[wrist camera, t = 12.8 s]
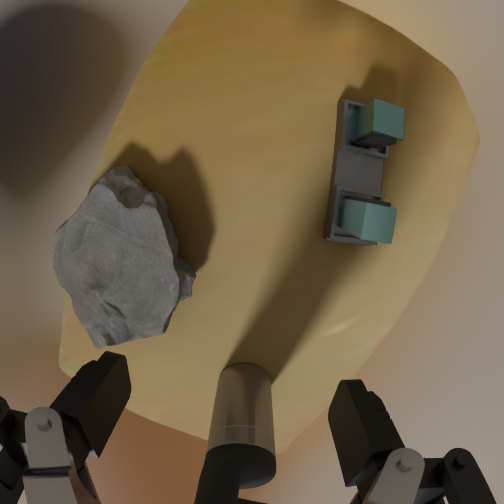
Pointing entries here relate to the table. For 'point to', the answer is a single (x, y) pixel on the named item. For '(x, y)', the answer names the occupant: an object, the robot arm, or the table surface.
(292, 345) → the table surface
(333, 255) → the table surface
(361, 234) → the block
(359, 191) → the grey block holder
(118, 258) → the stone
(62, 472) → the robot arm
